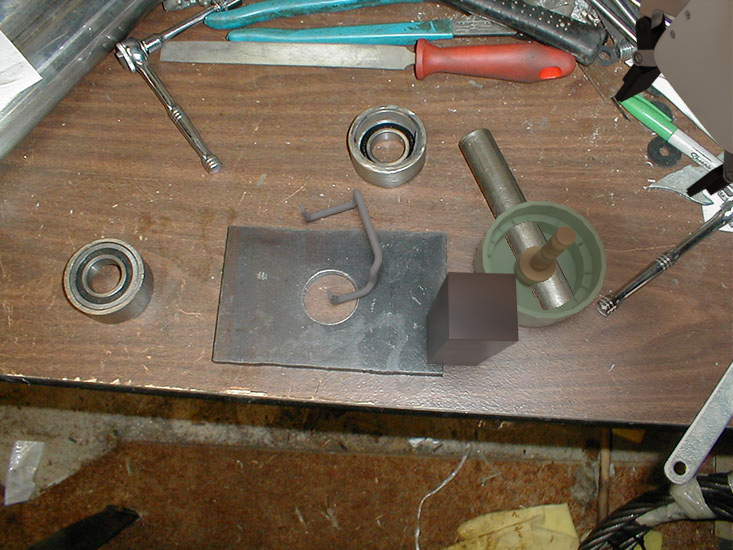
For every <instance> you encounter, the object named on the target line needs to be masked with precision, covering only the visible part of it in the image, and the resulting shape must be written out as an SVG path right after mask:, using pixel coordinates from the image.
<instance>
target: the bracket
mask: <svg viewBox="0 0 733 550" xmlns="http://www.w3.org/2000/svg"><path fill="white" fill-rule="evenodd" d="M356 206H357V207H358V211H359V213H360V216H361V220H362V222H363V226H364V227H365V231H366V234H367V237H368V239H369V242H370V245H371V248H372V251H373V255H374V260H373V263H372V265H371V267H370V269H369V272H368V274H369V275H368V281H367V283H366V285H365V286H363V287H361V288H360V289H358V290H353V291H350V292H347V293H344V294H341V295H335V294H333V293H332V290H331V289H330V288H328V289H326V294H327V297H328V299H329V302H330V303H331V304H342V303H346V302H349V301H353V300H355V299H359V298H362V297H364V296H367V295H369V293H371V292H372V290H374V288H375V286H376V284H377V281H378V273H379V270H380V269H381V266H382V264H383V259H384V258H383V251H382V248H381V245H380V242H379V239H378V236H377V233H376V230H375V228H374V225H373V222H372V219H371V217H370V214H369V211H368V208H367V205H366V203H365V199H364V196H363V194H362V191H361V190H360V189H359V188H354V189H353V190H352V199H351V200H349V201H347V202H343V203H340V204H337V205H334V206H331V207H327V208H324V209H321V210H317V211H315V212H311V213H309V212H308V211H306V210H305V209H306V208H305V205H304V204H303V203H302V202H301V203H299V208H300V212H301V216H302V218H303V220H305V221H307V222H312V221H316V220H319V219H322V218H324V217H328V216H331V215H334V214H338V213H340V212H344V211H347V210H351V209H353V208H355V207H356Z"/></svg>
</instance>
